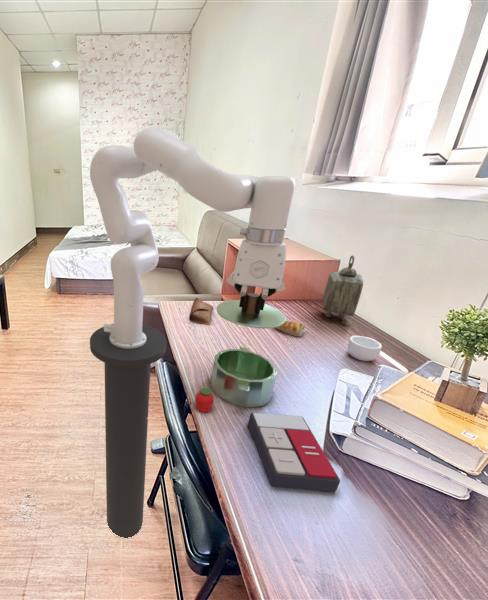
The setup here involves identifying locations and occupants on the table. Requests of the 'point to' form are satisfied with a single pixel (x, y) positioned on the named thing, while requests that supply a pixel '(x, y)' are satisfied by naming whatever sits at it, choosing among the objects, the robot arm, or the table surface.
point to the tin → (243, 377)
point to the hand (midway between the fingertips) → (250, 310)
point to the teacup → (363, 348)
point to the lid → (251, 313)
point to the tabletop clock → (343, 292)
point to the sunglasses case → (200, 312)
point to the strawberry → (204, 400)
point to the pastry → (292, 328)
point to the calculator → (291, 453)
